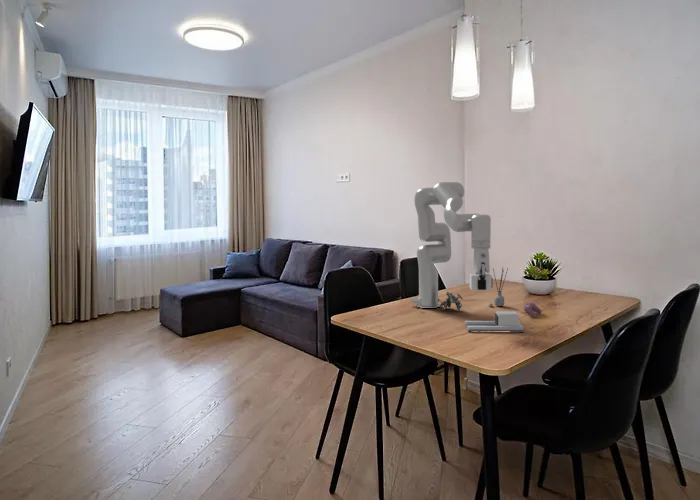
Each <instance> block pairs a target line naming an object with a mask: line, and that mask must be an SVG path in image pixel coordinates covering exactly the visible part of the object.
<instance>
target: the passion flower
mask: <svg viewBox="0 0 700 500" xmlns="http://www.w3.org/2000/svg"><path fill="white" fill-rule="evenodd" d="M456 294H457V297H456V296H455V295H454V294H453V293H452V292H449V291H447V292H446V296H447V297H446V299H445V300H443V301H442V300H440V298H439V297H438V303H440V302H441V303H440V304H441V305H440V306H439V307H440V308H441V307H443V310H446V309H448V307H450V308H451V307H452V304H455V307H456V309H457V311H458V310H459V311H458V312H461V311H460V310H461V308H462V306H463V304H462V303H461V301H460V300H459V299H461V300H463V299H464V298H463V296H462V295H461V294H459V292H458V293H456Z"/></svg>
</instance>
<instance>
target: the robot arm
mask: <svg viewBox="0 0 700 500" xmlns="http://www.w3.org/2000/svg"><path fill="white" fill-rule="evenodd" d="M464 196H465V187H464V186H463V185H462V184H461V183H460V182H458V181H442V182H438V183H436V184H435V185H434V186H433V187H423V188H419V189H418V190H417V191H416V192H415V195H414V206H415V211H416V214H417V225H418V238H419V241H422V242H424V243H431V242H434V243H435V244H433V243H432V244H423V245H421V246H419V247H418V248H417V250H416V257H417V258H416V259H417V264H418V265H417V266H418V296H417V297H416V298H409V302H410V303H412V304H413V303H415V306H416V305H417V306H420V307H425V308H437V307H439V306H440V305H441V303H440V302H438V298H439V271H438V269H437V268H436V266H435V264H440V263H447V262H449V261H450V260H451V258H452V241H451V240H452V239H451V230H452V231H454V232H456V233H463V232H471V238H470V239H471V247H470V248H471V249H472V250H473V270H474V271H475V274H478V278H479V280H478V290H477V291H487V290H486V274H490V270H491V269H490V251H489V250H490V249H491V235H492V234H491V229H492V228H491V227H492V226H491V224H492V220H491V219H492V217H491V215H490V214H479V213H457V212H458V211H459V210H461V208H462V207H463V204H464V200H463V197H464ZM439 205H440V206H441V205H442V206H443V208H444V209H443V218H444V220H445V221H444V222H436V215H435V212H434V210H433V208H432V207H431V206H439ZM450 229H451V230H450ZM436 242H437V244H436ZM480 274H481V275H480ZM437 309H438V308H437Z"/></svg>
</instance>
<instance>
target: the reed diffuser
mask: <svg viewBox="0 0 700 500" xmlns="http://www.w3.org/2000/svg"><path fill="white" fill-rule="evenodd" d="M508 270H509V268H507V269H506V272H505V276H504V271H505V270H504V267H502V269H501V277H500V283H499V287H498V283H497V279H496V274H495V269H494V268H493V267H492V271H493V276H494V279H495V285H496V289H497V294H496V295H495V297H494V301H493V302H494V304H492V302H491V301H490V302H489V304H488V305H487V306H488V307H491V308H493V307H494V306H497V307H502V306H505V297H504V296H503V295H502V290H503V287H504V283H505V280H506V277H507V274H508ZM503 277H504V278H503ZM502 281H503V282H502Z"/></svg>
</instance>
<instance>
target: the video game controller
mask: <svg viewBox="0 0 700 500" xmlns="http://www.w3.org/2000/svg"><path fill="white" fill-rule="evenodd" d="M523 310H524V312H525V313H526V314H527V315H528V316H529V317H530V318H533V317H534V318H537V314H539V315H540V314H542V310H541V308H540V307H538V306H537V305H536V303H534V302H533V301H532V302H531V301H529V302H526V303H525V305H523Z"/></svg>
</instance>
